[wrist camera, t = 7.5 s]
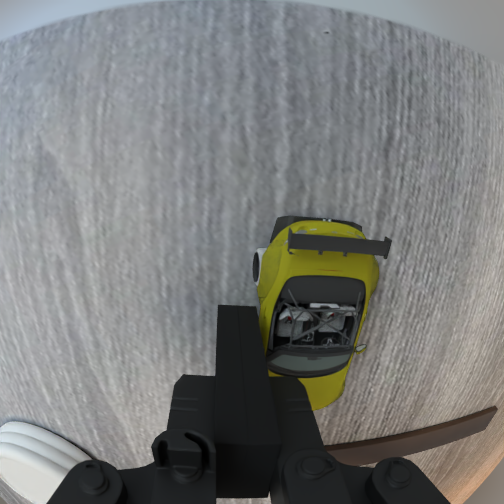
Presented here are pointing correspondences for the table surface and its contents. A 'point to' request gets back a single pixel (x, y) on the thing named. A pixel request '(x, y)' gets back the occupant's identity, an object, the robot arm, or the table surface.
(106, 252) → the table surface
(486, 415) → the ruler
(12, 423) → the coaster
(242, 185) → the table surface
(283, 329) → the sports car
